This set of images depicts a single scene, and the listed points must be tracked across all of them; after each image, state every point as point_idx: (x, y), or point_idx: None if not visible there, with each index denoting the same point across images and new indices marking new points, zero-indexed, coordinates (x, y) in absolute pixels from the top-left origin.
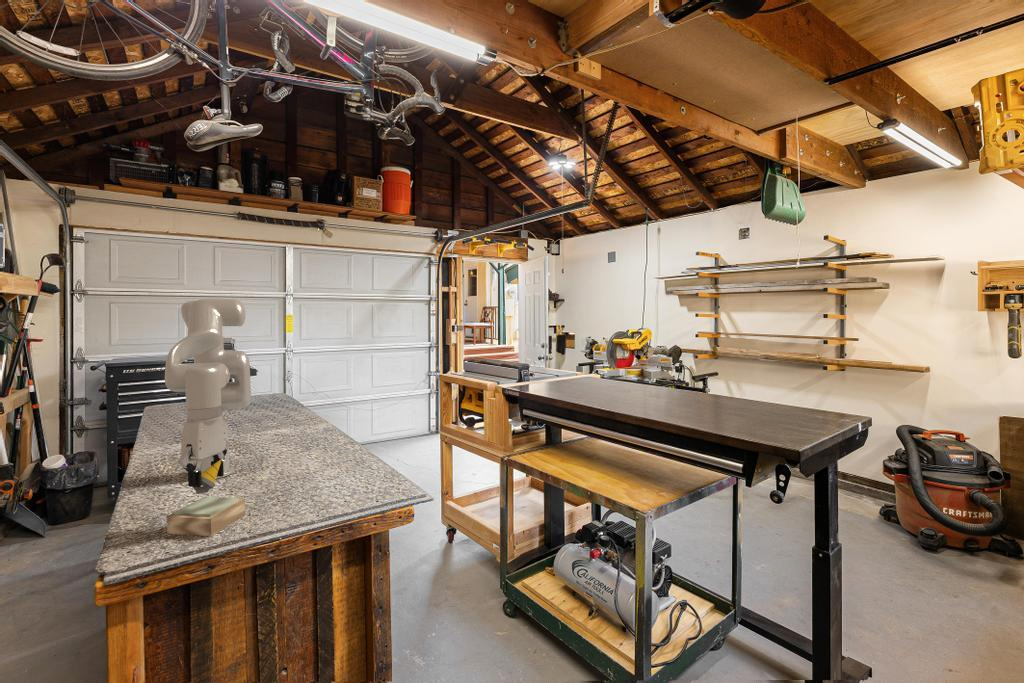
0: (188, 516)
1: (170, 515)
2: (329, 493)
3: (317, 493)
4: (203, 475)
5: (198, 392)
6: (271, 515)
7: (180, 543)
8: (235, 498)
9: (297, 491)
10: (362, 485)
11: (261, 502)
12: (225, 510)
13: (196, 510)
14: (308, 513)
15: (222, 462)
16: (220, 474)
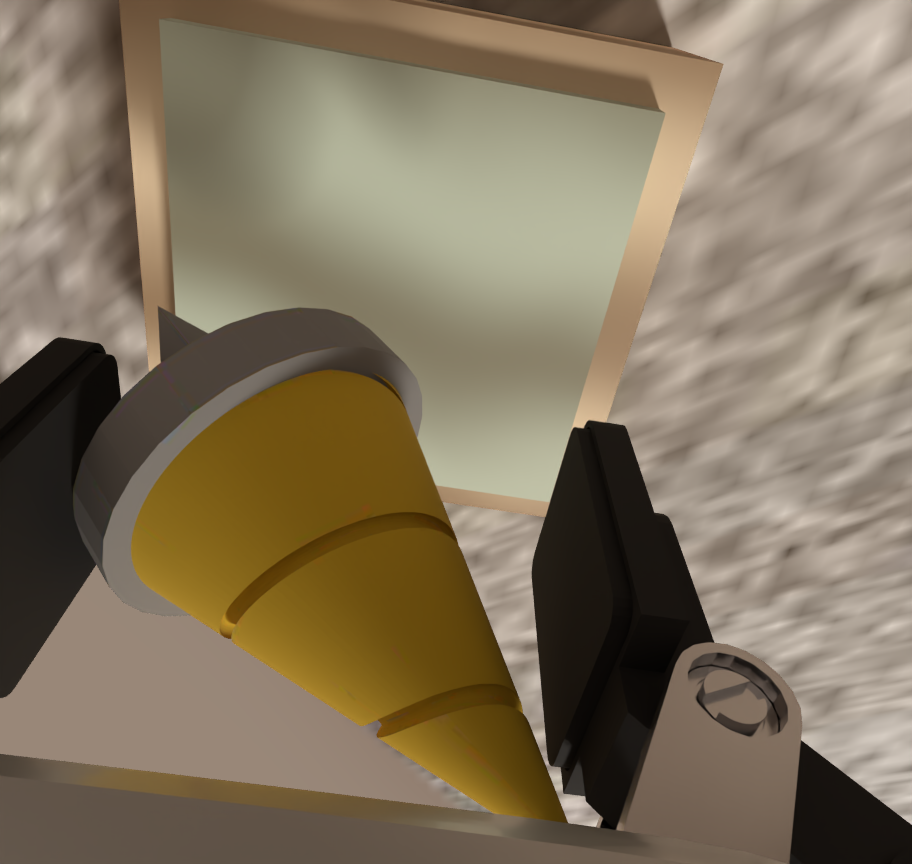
0: (159, 235)
1: None
2: (833, 756)
3: (860, 707)
4: (161, 591)
5: None
6: (530, 590)
7: (64, 225)
8: (550, 477)
9: None
10: None
11: (804, 447)
12: None
13: (246, 271)
14: (536, 737)
15: (576, 783)
16: (534, 579)
